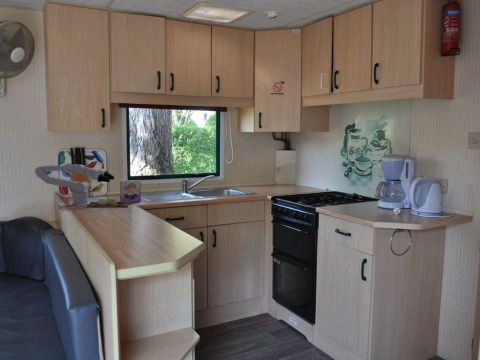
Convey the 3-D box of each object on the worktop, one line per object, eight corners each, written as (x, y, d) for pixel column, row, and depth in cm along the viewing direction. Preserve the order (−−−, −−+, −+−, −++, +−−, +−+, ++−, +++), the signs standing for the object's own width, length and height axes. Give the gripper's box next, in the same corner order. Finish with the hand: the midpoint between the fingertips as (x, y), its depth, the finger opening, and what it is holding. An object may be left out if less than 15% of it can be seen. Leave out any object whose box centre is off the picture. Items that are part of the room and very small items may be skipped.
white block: (97, 206, 278) (97, 198, 277) (99, 205, 283) (99, 197, 283) (105, 206, 279) (105, 198, 278) (107, 205, 284) (107, 197, 284)
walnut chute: (87, 209, 273) (87, 204, 273) (90, 206, 286) (90, 201, 286) (127, 209, 278) (127, 204, 278) (129, 206, 291) (129, 201, 290)
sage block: (107, 206, 279) (107, 198, 278) (108, 205, 285) (108, 197, 284) (115, 206, 280) (115, 198, 279) (116, 205, 286) (116, 197, 285)
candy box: (120, 204, 297) (120, 180, 296) (120, 203, 303) (120, 180, 301) (140, 204, 301) (140, 180, 299) (140, 203, 306) (140, 180, 305)
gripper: (89, 169, 280) (109, 176, 280) (98, 165, 294) (117, 171, 294) (87, 179, 282) (106, 186, 282) (95, 175, 296) (114, 181, 296)
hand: (111, 179), depth 288 cm, fingers open, 7 cm apart
